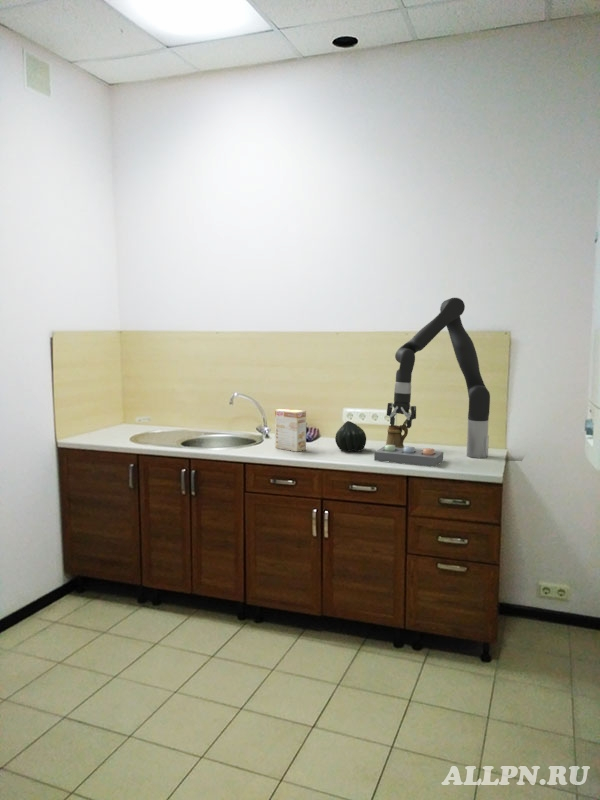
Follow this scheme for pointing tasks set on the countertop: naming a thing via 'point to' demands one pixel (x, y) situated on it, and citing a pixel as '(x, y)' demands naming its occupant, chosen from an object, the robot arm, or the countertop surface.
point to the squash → (350, 437)
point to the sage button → (390, 448)
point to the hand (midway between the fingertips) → (400, 426)
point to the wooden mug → (397, 435)
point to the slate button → (409, 449)
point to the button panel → (408, 457)
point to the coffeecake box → (290, 429)
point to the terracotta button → (428, 451)
